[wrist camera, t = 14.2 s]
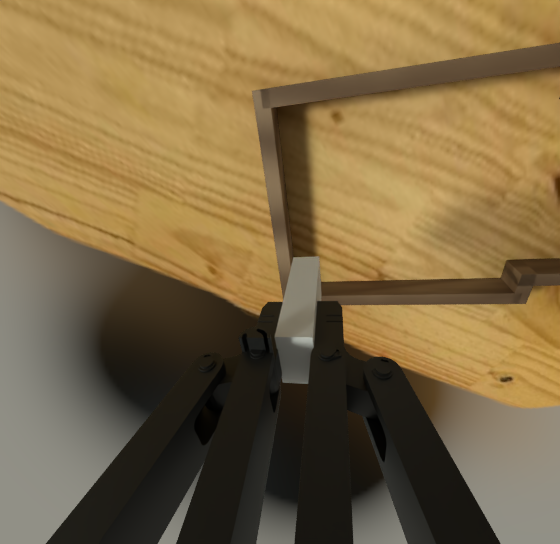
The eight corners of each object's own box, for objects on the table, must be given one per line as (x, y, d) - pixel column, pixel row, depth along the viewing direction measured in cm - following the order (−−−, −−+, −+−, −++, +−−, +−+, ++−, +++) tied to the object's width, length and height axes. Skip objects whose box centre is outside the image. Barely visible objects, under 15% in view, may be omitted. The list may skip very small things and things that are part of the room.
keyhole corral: (259, 90, 22) (252, 90, 20) (834, 1, 16) (909, -12, 14) (287, 291, 32) (284, 305, 30) (648, 285, 26) (676, 302, 24)
